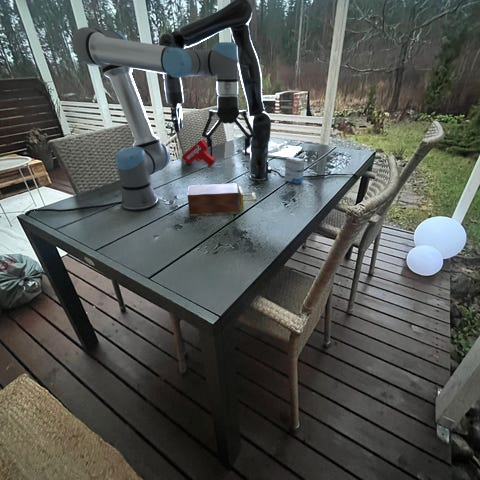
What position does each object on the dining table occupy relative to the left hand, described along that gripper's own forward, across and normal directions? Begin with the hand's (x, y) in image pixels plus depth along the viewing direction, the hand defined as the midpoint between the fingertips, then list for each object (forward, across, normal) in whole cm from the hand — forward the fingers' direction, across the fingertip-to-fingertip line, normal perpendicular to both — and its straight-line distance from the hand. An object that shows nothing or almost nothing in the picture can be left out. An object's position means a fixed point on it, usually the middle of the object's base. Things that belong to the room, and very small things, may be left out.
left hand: (228, 155), depth 109 cm
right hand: (-5, -24, +25) cm, 35 cm away
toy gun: (+22, -20, +58) cm, 65 cm away
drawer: (+20, -1, -5) cm, 21 cm away
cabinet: (+22, -7, -5) cm, 23 cm away
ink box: (+21, +34, +26) cm, 48 cm away
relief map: (+22, +31, +86) cm, 94 cm away
